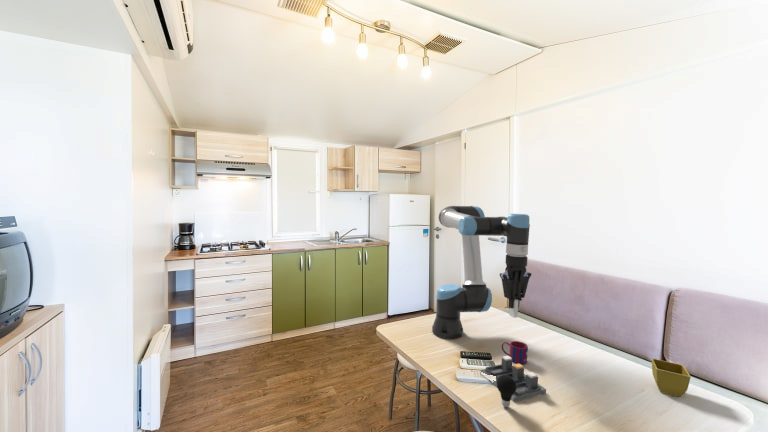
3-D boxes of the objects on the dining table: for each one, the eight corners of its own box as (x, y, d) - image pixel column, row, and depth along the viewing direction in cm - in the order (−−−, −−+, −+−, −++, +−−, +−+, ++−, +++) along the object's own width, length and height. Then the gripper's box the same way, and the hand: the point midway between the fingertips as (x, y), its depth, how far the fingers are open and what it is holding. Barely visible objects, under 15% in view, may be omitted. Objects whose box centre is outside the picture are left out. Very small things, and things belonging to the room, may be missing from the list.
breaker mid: (512, 376, 112) (512, 364, 112) (518, 374, 113) (519, 363, 113) (517, 379, 110) (517, 367, 110) (523, 378, 111) (524, 366, 111)
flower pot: (689, 403, 102) (691, 376, 101) (654, 393, 106) (656, 368, 106) (681, 389, 109) (683, 365, 109) (649, 381, 114) (651, 357, 113)
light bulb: (492, 401, 100) (493, 371, 100) (509, 400, 101) (511, 370, 100) (500, 413, 95) (502, 381, 94) (519, 412, 95) (520, 381, 95)
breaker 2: (525, 385, 107) (525, 373, 106) (532, 383, 108) (532, 371, 107) (530, 389, 104) (531, 376, 104) (537, 387, 105) (538, 375, 105)
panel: (480, 373, 116) (480, 367, 116) (510, 367, 121) (510, 362, 121) (513, 401, 100) (513, 394, 100) (546, 393, 105) (546, 387, 105)
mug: (523, 366, 122) (524, 350, 122) (498, 357, 129) (499, 341, 129) (529, 360, 127) (530, 344, 127) (505, 352, 134) (505, 337, 133)
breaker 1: (501, 367, 118) (501, 356, 118) (507, 366, 119) (508, 355, 119) (505, 370, 116) (506, 359, 115) (512, 369, 117) (512, 358, 116)
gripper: (509, 257, 110) (505, 321, 111) (538, 256, 114) (534, 318, 115) (495, 253, 117) (492, 314, 119) (523, 252, 121) (520, 311, 122)
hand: (513, 316), depth 117 cm, fingers closed
